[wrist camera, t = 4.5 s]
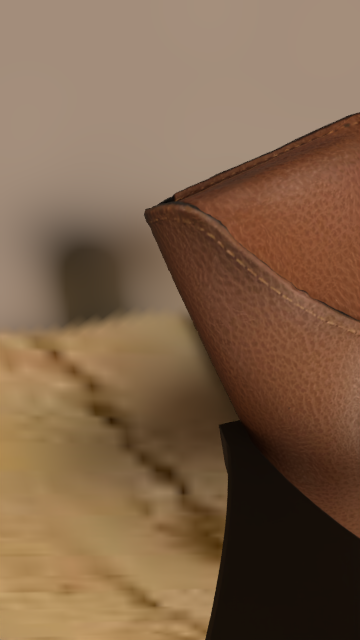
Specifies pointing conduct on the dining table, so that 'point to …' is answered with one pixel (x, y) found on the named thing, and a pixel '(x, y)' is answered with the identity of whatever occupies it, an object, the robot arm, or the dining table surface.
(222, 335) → the sunglasses case
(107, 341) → the dining table surface
